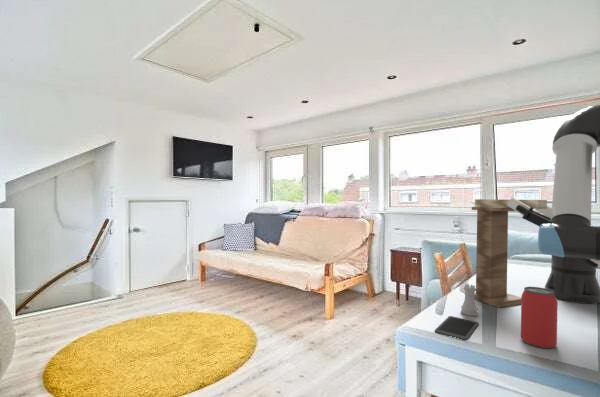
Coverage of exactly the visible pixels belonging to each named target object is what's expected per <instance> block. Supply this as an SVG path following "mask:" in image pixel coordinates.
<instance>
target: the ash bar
mask: <svg viewBox="0 0 600 397" xmlns="http://www.w3.org/2000/svg"><path fill="white" fill-rule="evenodd" d="M510 200H511V199H489V198H488V199H487V198H486V199H481V198H479V199H474V207H499V208H510V207H509V206H507V204H508V203H509V201H510ZM517 200H518V201H520V202H522V203H523V204H525V205H527V206H528V207H530V208H531V207H533V210H534V209H547V206H548V200H547V199H517Z"/></svg>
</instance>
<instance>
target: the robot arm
mask: <svg viewBox="0 0 600 397" xmlns="http://www.w3.org/2000/svg"><path fill="white" fill-rule="evenodd" d="M598 148H600V104H596V105H595V104H594V105H591V106H587V107H586V108H583V109H580V110H579V111H577V112H575V113H574V114H573V115H571V116H570V117H569V118H567V119H566V120H565V121H564V122H563V123H562V124H561V125H560V127H559V128H558V130H557V131H556V133H555V135H554V137H553V140H552V151H553V152H552V153H554V155H555V167H554V177H553V178H554V179H553V190H552V199H551V200H552V201H551V203H552V204H551V207H550V206H549V205H547V209H535V210H534V209H533V207H531V208H530V207H528V206H527V205H525V204H523V203H522V202H520V201H518V200H519V199H517V198H515V197H511V198H510V199H509V200H510V201H509V203H508V204H507V206H509V207H510V208H512V209H513V210H515V211H514V212H517V213H518V214H520V215H522V219H523V220H525V221H527V222H530V223H532V225H536V226H538V227H539V229H538V234H537V235H538V236H537V240H538V241H537V242H538V250H539V252H540V253H542V254H543V255H549V256H551V262H550V263H551V270H550V273H549V276H548V278H547V280H546V283H545V285H544V288H545V289H549V290H552V291H554V292H555V294H554V295H555V297H556V299H557V300H558V299H559V300H563V301H568V302H573V303H574V302H575V303H582V304H592V303H596V304H600V284H599V282H598V279H597V269H599V270H600V226H595V225H592V194H593V192H592V187H593V186H592V183H593V182H592V180H593V179H592V178H593V154H595V152H596V151H597V150H598Z"/></svg>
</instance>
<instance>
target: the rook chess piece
mask: <svg viewBox="0 0 600 397" xmlns="http://www.w3.org/2000/svg"><path fill="white" fill-rule="evenodd" d="M463 289H464V293H463V294H464V301H463V303H462V305H461V307H460V308H461V310H460V312H461V314H463V315H465V316H468V317H476V316H478V315H479V313H478V311H479V309H478V307H477V305H476V300H475V299H474V296H475V294H474V293H476V285H473V284H469V283H467V284H464V286H463Z"/></svg>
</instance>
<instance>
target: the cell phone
mask: <svg viewBox="0 0 600 397" xmlns="http://www.w3.org/2000/svg"><path fill="white" fill-rule="evenodd" d="M479 323H480V322H478V321H474V320H471V319H465V318H462V317H458V316H452V315H449V316H448V317H447V318H445V320H443V321H442V322H441V323H440V324H439V325H438V326H437V327H436V328H435V329H434V333H436V334H438V335H441V336H442V335H443V336H445V335H446V337H449V336H452V337H451V338H453V337H456V338H455V339H457V338H459V339H458V340H460V339H462V340H461V341H465V340H467V341H468V340H470V338H471V337H472V335H473V334H474V333H475V331H476V330H477V328H478V327H479V325H480V324H479Z"/></svg>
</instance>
